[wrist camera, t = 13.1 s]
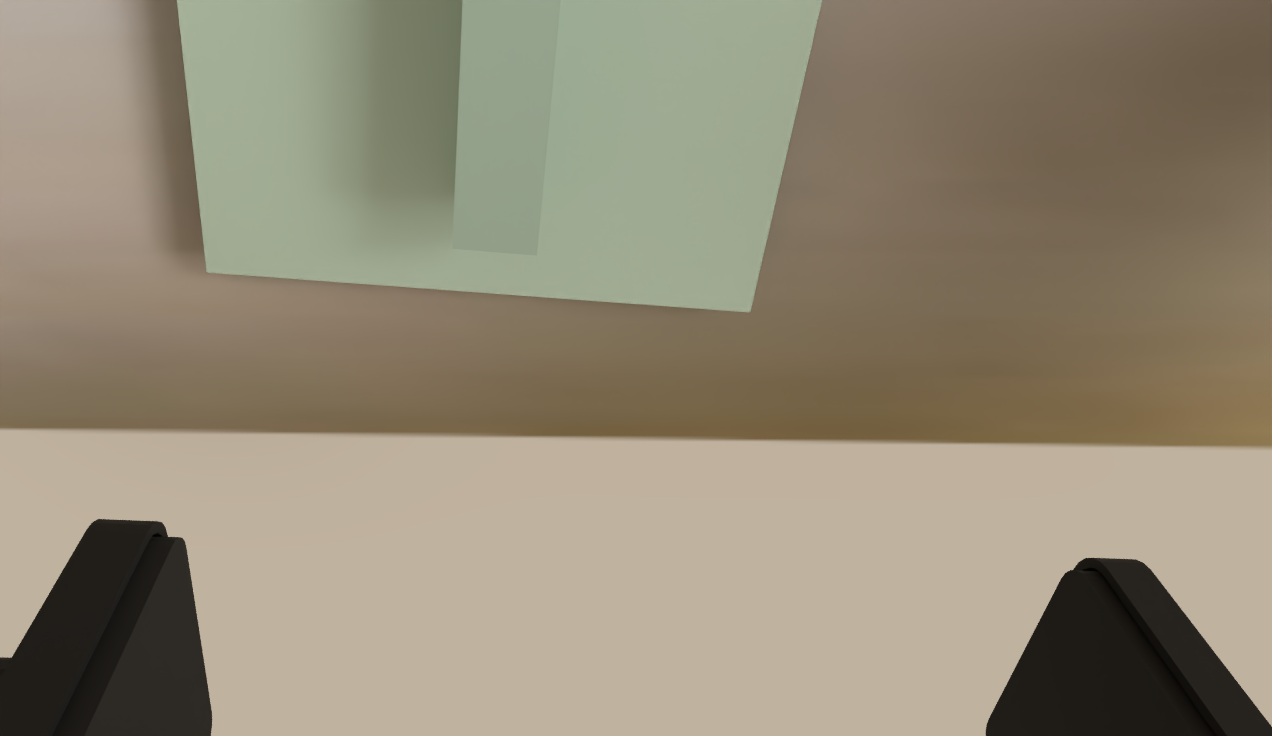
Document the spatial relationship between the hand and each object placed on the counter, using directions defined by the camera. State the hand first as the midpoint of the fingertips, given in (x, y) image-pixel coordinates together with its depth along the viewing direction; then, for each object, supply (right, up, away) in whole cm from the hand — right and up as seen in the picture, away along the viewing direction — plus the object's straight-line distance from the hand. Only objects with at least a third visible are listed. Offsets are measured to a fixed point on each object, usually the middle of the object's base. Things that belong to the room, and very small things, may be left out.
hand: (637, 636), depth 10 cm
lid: (-4, +13, +21) cm, 25 cm away
